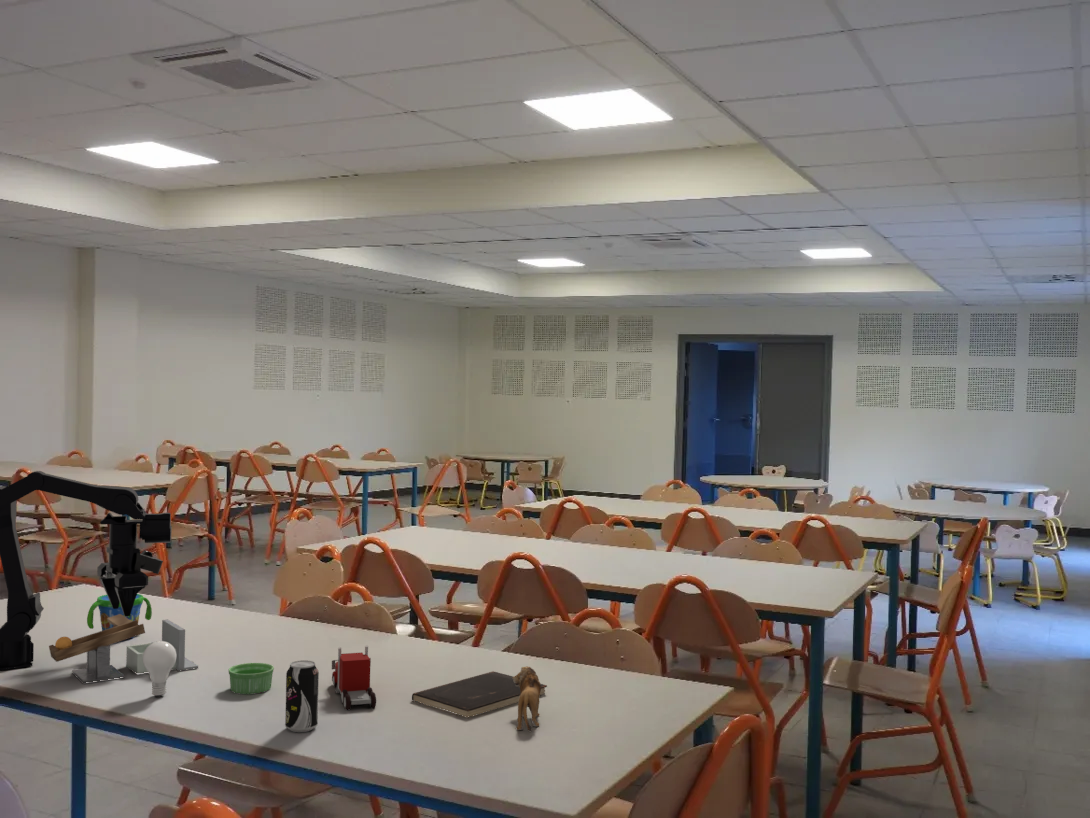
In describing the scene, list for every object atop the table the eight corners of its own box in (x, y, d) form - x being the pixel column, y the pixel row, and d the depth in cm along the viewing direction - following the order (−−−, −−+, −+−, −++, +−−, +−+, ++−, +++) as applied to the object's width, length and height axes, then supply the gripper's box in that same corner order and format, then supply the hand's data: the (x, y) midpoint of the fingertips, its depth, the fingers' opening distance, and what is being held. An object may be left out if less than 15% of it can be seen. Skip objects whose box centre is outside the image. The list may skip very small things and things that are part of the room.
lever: (57, 664, 207) (55, 651, 207) (37, 645, 222) (34, 633, 222) (146, 635, 218) (143, 623, 218) (121, 619, 233) (119, 607, 233)
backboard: (178, 671, 220) (179, 630, 220) (161, 659, 229) (162, 619, 229) (198, 668, 222) (198, 627, 222) (180, 656, 232) (180, 617, 232)
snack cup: (142, 629, 258) (143, 589, 257) (159, 637, 250) (160, 596, 250) (78, 638, 247) (79, 597, 247) (94, 646, 239) (95, 604, 239)
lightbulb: (140, 702, 198) (141, 646, 197) (143, 692, 204) (144, 638, 204) (174, 700, 199) (175, 644, 199) (177, 690, 205) (178, 637, 205)
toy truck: (364, 682, 215) (365, 636, 215) (382, 709, 197) (382, 658, 197) (326, 685, 212) (327, 638, 212) (340, 713, 194) (341, 661, 194)
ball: (58, 655, 209) (55, 641, 208) (55, 652, 211) (52, 637, 211) (75, 650, 211) (72, 636, 210) (71, 647, 213) (68, 633, 213)
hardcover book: (546, 696, 209) (546, 685, 209) (467, 721, 192) (467, 709, 192) (491, 681, 220) (491, 670, 219) (411, 703, 202) (411, 692, 202)
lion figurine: (511, 709, 198) (512, 664, 198) (538, 709, 198) (539, 663, 198) (517, 734, 183) (518, 685, 183) (546, 734, 184) (547, 685, 184)
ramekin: (281, 685, 211) (282, 664, 211) (258, 697, 202) (258, 675, 202) (243, 681, 213) (244, 660, 213) (219, 693, 205) (219, 671, 205)
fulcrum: (83, 684, 209) (84, 649, 209) (72, 673, 217) (72, 640, 217) (124, 678, 214) (124, 644, 214) (111, 667, 222) (111, 635, 221)
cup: (137, 675, 216) (137, 654, 216) (126, 666, 223) (126, 646, 223) (176, 669, 221) (176, 648, 221) (164, 661, 228) (164, 641, 228)
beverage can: (279, 728, 184) (280, 662, 184) (306, 721, 188) (308, 657, 188) (295, 736, 180) (297, 669, 180) (323, 729, 184) (324, 663, 184)
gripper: (172, 546, 225) (170, 616, 226) (147, 536, 240) (145, 601, 240) (120, 549, 219) (118, 621, 219) (97, 539, 233) (95, 606, 233)
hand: (121, 612), depth 228 cm, fingers open, 9 cm apart
